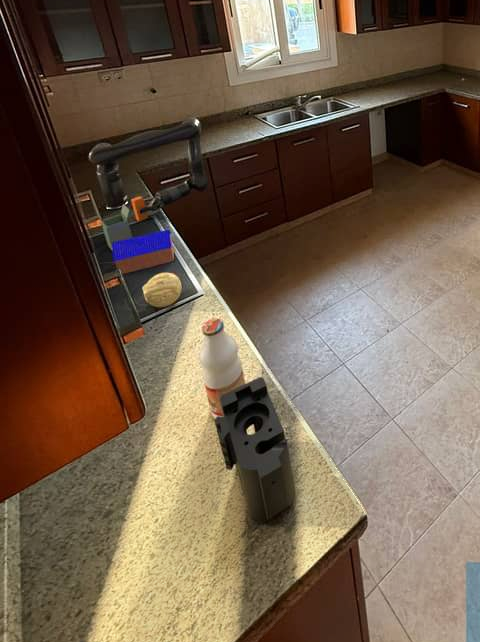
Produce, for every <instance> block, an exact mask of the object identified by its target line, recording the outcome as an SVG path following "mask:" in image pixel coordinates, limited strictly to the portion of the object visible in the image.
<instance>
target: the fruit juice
mask: <svg viewBox="0 0 480 642" xmlns="http://www.w3.org/2000/svg"><path fill="white" fill-rule="evenodd" d="M201 332H202V335H203V336H204V342H203V344H202V346H201V347H200V349H199V352H198V362H199V364H200V366H201V367H202V369H201V375H202V381H203V385H204V389H205V393H206V398H207V400H208V406H209V410H210V414H211V416H212V417H213V419H214V420H215V419H216V418H217V416H218V417H223V416H224V414H223V410H222V406H221V401H220V398H221V396H222V395H224V394H226V393H228V392H230V391H232V390H234V389H236V388H238V387H240V386H242V385H244V384H246V380H245V375H244V370H243V364H242V360H241V358H240V356H239V354H238V353H239V351H238V350H239V347H238V343H237V341H236V339H235V338H234V337H232V335H229V334H228V333H227V332H226V331H225V324H224V321H223V320H222V319H221V318H217V317H215V318H211V319H209V320H207V321H206V322H204V323H203V324H202V328H201Z"/></svg>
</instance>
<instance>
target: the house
mask: <svg viewBox="0 0 480 642" xmlns="http://www.w3.org/2000/svg"><path fill="white" fill-rule="evenodd" d="M171 233H172V232H171V230H170V229H166V230H161V231H157V232H152V233H148V234H144V235H138V236H135V237H132V238H130V239H126V240H121V241H117V242H113V243H112V249H113V251H112V258H113V262H115V266H116V270H117V269H120V270H121V271H122V274H121V275H124V274H128V273H132V272H137V271H141V270H144V269H149V268H152V267H156V266H159V265H163V264H167V263H172V262H175V252H174V251H175V250H174V243H173V239H172V235H171Z"/></svg>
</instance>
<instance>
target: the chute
mask: <svg viewBox="0 0 480 642" xmlns="http://www.w3.org/2000/svg"><path fill="white" fill-rule="evenodd" d="M102 220H103V226H102V225H101V227H102V230H103V234H104V237H105V240H106V243H107V246H108V248H109V249H110V250H111V251H112V252H113V249H112V243H113V242H117V241H121V240H126V239H130V238H133V234H132V231H131V227H130V224H129V220H128V219H127V218H126V217H125V216H124V215H123V214H122V213H120V214H117V215H114V216H111V217H108V218H104V219H102Z"/></svg>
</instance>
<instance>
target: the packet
mask: <svg viewBox="0 0 480 642" xmlns="http://www.w3.org/2000/svg"><path fill="white" fill-rule="evenodd" d="M130 202H131V204H132V205H133V209H132V210H133V212H134V216H135V220H136V221H138V222H142V221H144V220H146V219H148V218H149V217H148V213H147V212H148V211H147V212H145V213H142V214H140V212H139V209H142V208H144V207H146V206H145V205H144V201H143V198H142V196H140V195H139V196H136V197H133V198H131V199H130Z"/></svg>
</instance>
